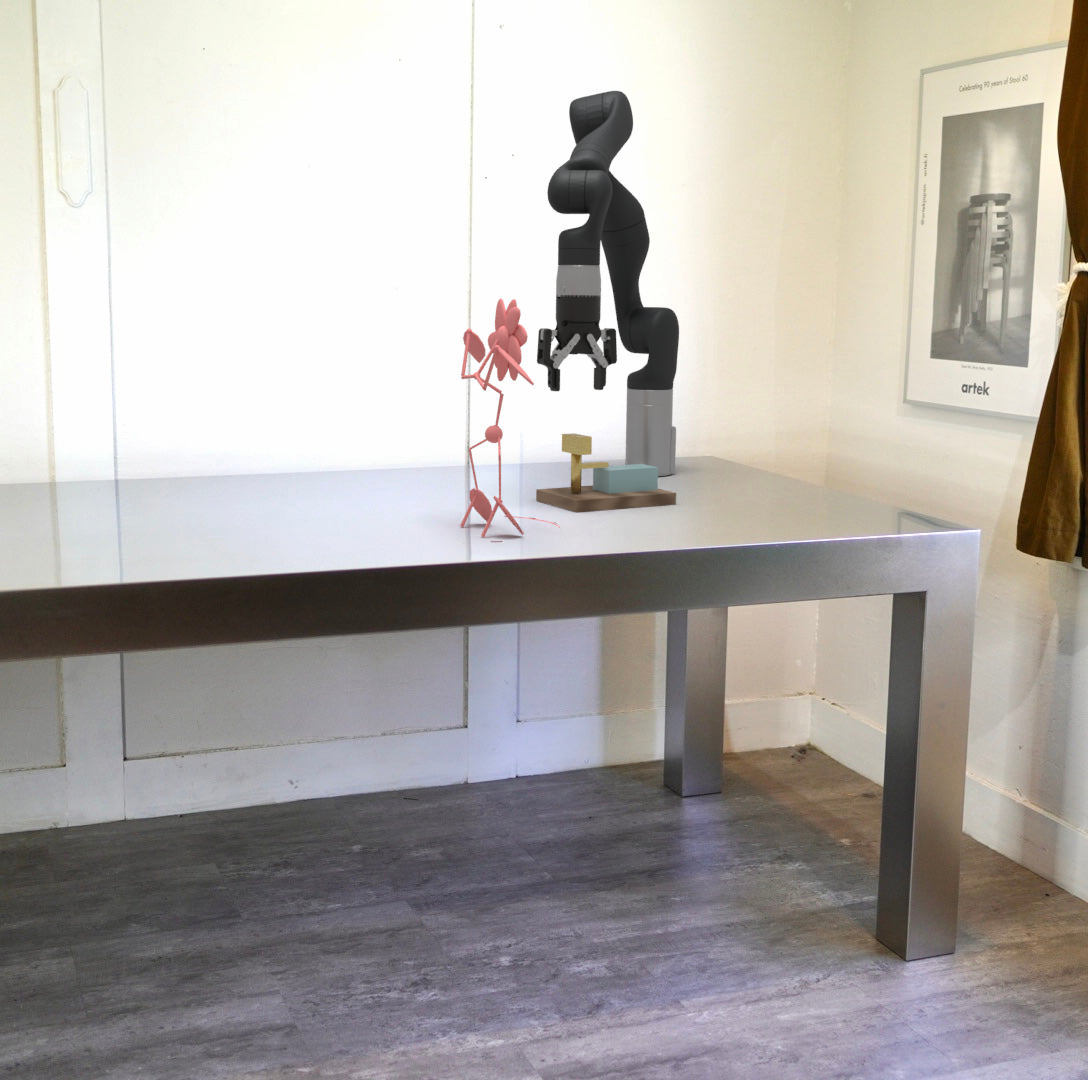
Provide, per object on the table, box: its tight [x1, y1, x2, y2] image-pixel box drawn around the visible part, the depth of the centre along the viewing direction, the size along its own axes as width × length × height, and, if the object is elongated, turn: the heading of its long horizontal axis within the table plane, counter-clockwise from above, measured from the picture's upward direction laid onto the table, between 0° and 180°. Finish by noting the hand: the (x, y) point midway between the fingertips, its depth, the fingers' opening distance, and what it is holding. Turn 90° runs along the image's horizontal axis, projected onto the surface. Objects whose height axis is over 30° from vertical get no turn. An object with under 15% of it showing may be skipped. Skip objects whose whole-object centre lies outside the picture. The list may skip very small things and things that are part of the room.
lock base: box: [535, 484, 677, 513], centre depth 233 cm, size 20×14×2 cm
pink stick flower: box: [459, 298, 561, 543], centre depth 202 cm, size 15×26×35 cm, turn 24°
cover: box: [592, 464, 659, 494], centre depth 234 cm, size 10×5×4 cm, turn 119°
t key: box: [561, 433, 610, 493], centre depth 230 cm, size 7×6×10 cm
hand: (576, 390), depth 226 cm, fingers open, 8 cm apart
